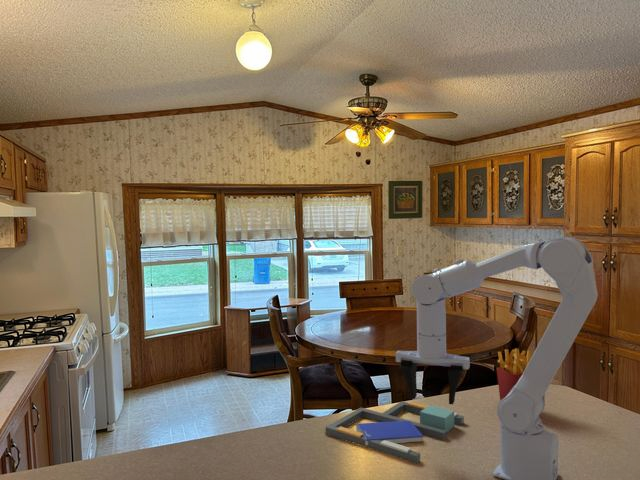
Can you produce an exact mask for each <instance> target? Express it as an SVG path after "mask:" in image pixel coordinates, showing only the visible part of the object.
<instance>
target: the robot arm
mask: <svg viewBox="0 0 640 480" xmlns="http://www.w3.org/2000/svg"><path fill="white" fill-rule="evenodd" d="M523 267H525V268H528V269H533V270H540V269H541V268H542V269H543V271H544V272H545V273H546V274H547V275H548V276H549V277H550V278H551V279H552V280H553V281H554V282H555V285H556V286H557V288H558V290H559V292H560V294H561V296H562V299H561V301H560V303H559V305H558V307H557V308H556V311H555V312H554V314H553V316H552V318H551V320H550V321H549V323H548V326H547V328H546V330H545V331H544V333H543V335H542V337H541V339H540V341H539V342H538V344H537V346H536V348H535V350H534V352H533V354H532V357H531V359H530V361H529V363H528V365H527V367H526V369H525V371H524V373H523V374H522V376H521V378H520V379H519V381H518V382H517V384H516V385H515V386H514V387H513V388H512V389H511V391H510V393H509V394H508V395H507V396H506V397H505V398H503V399H502V400H501V401H500V400H499V402H498V404H497V408H496V414H497V417H498V420H499V421H500V463H499V464H498V465H497V467H496V468H495V469H494V471H493V472H492V476H494V477H496V478H499V479H503V480H557V479H558V477H559V474H560V472H559V439H558V438H559V437H558V434H556V433H554V432H551V431H548V430H547V429H546V428H544V423H543V422H542V419H541V417H540V414H541V413H542V412H543V411H544V409H545V407H546V393H547V391H548V390H549V387H550V385H551V384H552V381H554V377H555V376H556V374H557V373H558V370H559V369H560V367H561V365H562V363H563V362H564V359H565V358H566V356H567V354H568V353H569V351H570V349H571V347H572V345H573V344H574V341H575V340H576V338H577V337H578V334H579V332H580V331H581V330H582V327H583V325H584V324H585V322H586V320H587V319H588V317H589V314H590V313H591V311H592V309H593V307H594V306H595V304H596V302H597V300H598V289H597V281H596V277H595V271H594V260H593V257H592V255H591V254H590V251H589V250H588V248H587V247H586V245H585V244H584V242H582V241H581V240H580V239H578V238H575V237H573V236H561V237H555V238H552V239H549V240H546V241H539V242H534V243H533V242H532V243H528V244H525V245H521V246H518V247H516V248H513V249H510V250H509V251H506V252H503V253H501V254H497V255H496V256H492V257H490V258H488V259H485V260H483V261H480V262H476V261H473V260H471V259H465V260H464V259H463V258H459V259H456V260H455V261H454V264H452V265H449V266H447V267H444V268H439V267H437V268H434V269H433V272H432V273H429V274H421V275H420V276H419V277H417V278H416V279H414V281H413V282H412V284H411V294H412V296H413V298H414V300H415V301H416V350H397V351H396V352H395V362H396V363H400V365H399V370H400V371H401V373H402V376H403V377H404V379H405V382H406V385H407V387H408V391H409V395H410V399H411V400H415V399H416V398H417V396H418V395H417V394H418V387H417V369H418V364H420V365H421V364H423V365H432V366H439V367H440V366H441V367H442V366H443V367H449V369H448V370H447V376H448V387H449V390H448V404H449V405H454V403H455V398H456V393H457V388H458V384H459V382H460V380H461V377H462V375H463V373H464V371H465V370H469V369H470V367H471V365H470V364H471V363H470V362H471V360H470V359H471V358H470V357H469V356H462V355H457V354H452V353H447V314H446V313H447V311H446V299H447V298H452V297H455V296H458V295H461V294H464V293H467V292H470V291H473V290H476V289H477V290H478V289H479V288H480V287H481V286H482V284H483V282H484V280H485V279H486V278H489V277H493V276H496V275H499V274H502V273H506V272H508V271H512V270H515V269H518V268H523Z"/></svg>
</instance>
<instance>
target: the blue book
mask: <svg viewBox="0 0 640 480" xmlns="http://www.w3.org/2000/svg"><path fill="white" fill-rule="evenodd" d="M411 421H412V420H409V421H394V422H379V421H376V422H365V423H364V422H361V423H355V425H356V426H355V431H357V432H360V433H364V434H363V436H364V438H365V440H366V443H365V445H368V440H380V441H384V440H386V441H389V442H393V443H396V444H403V443H416V442H424V434H421V432H420V431H419V430H418V429H417V428H416V427H415V426H414V425H413V424H412V422H411Z"/></svg>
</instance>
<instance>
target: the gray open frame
mask: <svg viewBox="0 0 640 480" xmlns="http://www.w3.org/2000/svg"><path fill="white" fill-rule="evenodd" d="M361 417H362V418H365V417H366V418H365V419H368V418H369V419H368V420H372V419H373V420H372V421H375V420H376V422H394V421H411V422H412V424H413V425H414V426H415V427H416V428H417V429H418V430H419V431H420V432H421V434H422V435H423V436H424V435H425V436H427V437H431V438H435V439H439V440H442V441H445V439H447V437H448V434H447V433H448V432H447V431H446V430H442V429H438V428H435V427H431V426H427V425H424V424H420V422H415V421H413V420H409V419H405V418H402V417H399V416H395V417H394V416H391V415H387V414H383V412H379V411H376V410H371V409H367V408H365V407H359V408H357V409H355V410H353V411H351V412H350V413H348V414H346V415H345V416H343V417H341V418H339V419H336V420H335V421H334V422H332V423H330V424H329V425H327V426H325V435H328V436H330V437H331V436H332V437H334V438H337V439H341V440H343V439H344V440H343V441H346V440H347V441H346V442H349V441H350V443H352V442H354V443H353V444H355V443H356V444H355V445H358V444H359V445H358V446H362V447H364V448H367V449H371V450H374V451H377V452H380V453H383V454H386V455H389V456H392V457H395V458H398V459H401V460H404V461H406V462H410V463H413V464H418V463H419V462H421V453H420V452H417V451H414V450H412V448H411V447H408V446H405V445H402V444H400V443H393V442H389V441H386V440H384V441H380V440H368V445H365V443H366V440H365V438H364V436H363V434H364V433H360V432H357V430H354V429H350V428H348V426H350V425H352V424H353V423H355V422H356V421H355V420H357V419H358V420H360V419H361ZM359 418H360V419H359ZM358 420H357V421H358ZM354 421H355V422H354ZM352 422H353V423H352ZM351 423H352V424H351ZM349 424H350V425H349Z"/></svg>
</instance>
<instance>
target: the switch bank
mask: <svg viewBox="0 0 640 480" xmlns="http://www.w3.org/2000/svg"><path fill="white" fill-rule="evenodd" d="M428 406H429V405H426V404H423V403H422V404H421V403H418V402H413V401H409V402H407V401H403V400H401V401H400V402H398V403H396V404H394V405H393V406H390V408H388V409H387V410H385V411H383V412H382V413H383V414H387V415H391V416H394V417H397V416H398V415H399V414H401V413H402V412H405V411H406V412H409V413H413V414H417V415H420V411H422V410H423V409H425V408H426V407H428ZM464 417H465V416H464V415H460V414H458V412H455V411H454V425H460V426H462V425H464V423H465V418H464Z"/></svg>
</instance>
